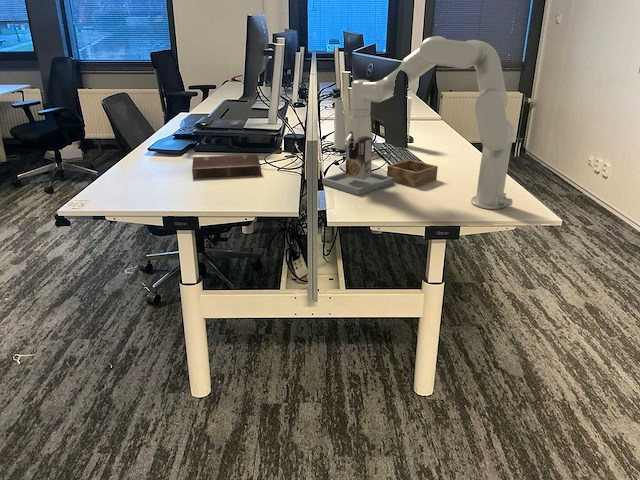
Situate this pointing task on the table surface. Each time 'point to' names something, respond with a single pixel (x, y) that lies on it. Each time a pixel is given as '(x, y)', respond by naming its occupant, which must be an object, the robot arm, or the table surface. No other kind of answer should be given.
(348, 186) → the slate tray
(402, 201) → the table surface
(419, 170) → the walnut sleeve
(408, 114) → the cylindrical container
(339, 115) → the cylinder vase
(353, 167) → the coffee box
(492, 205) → the robot arm
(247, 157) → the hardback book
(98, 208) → the table surface
